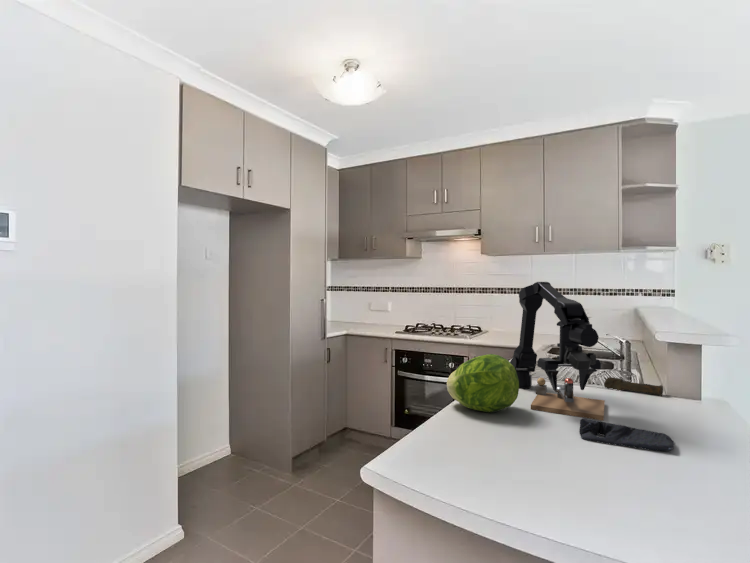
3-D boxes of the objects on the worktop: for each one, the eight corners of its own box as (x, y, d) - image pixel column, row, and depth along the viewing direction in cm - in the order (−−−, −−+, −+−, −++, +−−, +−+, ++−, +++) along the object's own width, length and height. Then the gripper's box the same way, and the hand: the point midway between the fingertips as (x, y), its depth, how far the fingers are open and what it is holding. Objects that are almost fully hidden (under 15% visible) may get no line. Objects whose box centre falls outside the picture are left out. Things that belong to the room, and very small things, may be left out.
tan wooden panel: (529, 409, 138) (529, 386, 137) (537, 395, 153) (537, 375, 153) (603, 420, 127) (603, 396, 127) (604, 404, 143) (604, 383, 143)
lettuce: (463, 397, 152) (452, 349, 151) (529, 396, 140) (518, 344, 138) (444, 422, 136) (431, 369, 135) (517, 423, 124) (504, 365, 122)
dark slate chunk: (675, 460, 101) (676, 441, 101) (575, 440, 113) (575, 422, 113) (673, 440, 114) (673, 422, 114) (583, 423, 126) (583, 407, 126)
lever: (553, 390, 150) (553, 366, 150) (566, 391, 149) (566, 367, 149) (561, 404, 133) (562, 378, 133) (576, 406, 132) (577, 379, 132)
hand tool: (663, 395, 155) (663, 382, 155) (662, 397, 152) (662, 385, 152) (605, 386, 167) (605, 375, 167) (603, 389, 164) (604, 377, 164)
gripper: (555, 346, 125) (554, 398, 125) (613, 345, 127) (612, 396, 127) (536, 340, 136) (536, 388, 136) (590, 339, 138) (589, 387, 138)
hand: (568, 390), depth 134 cm, fingers open, 9 cm apart
